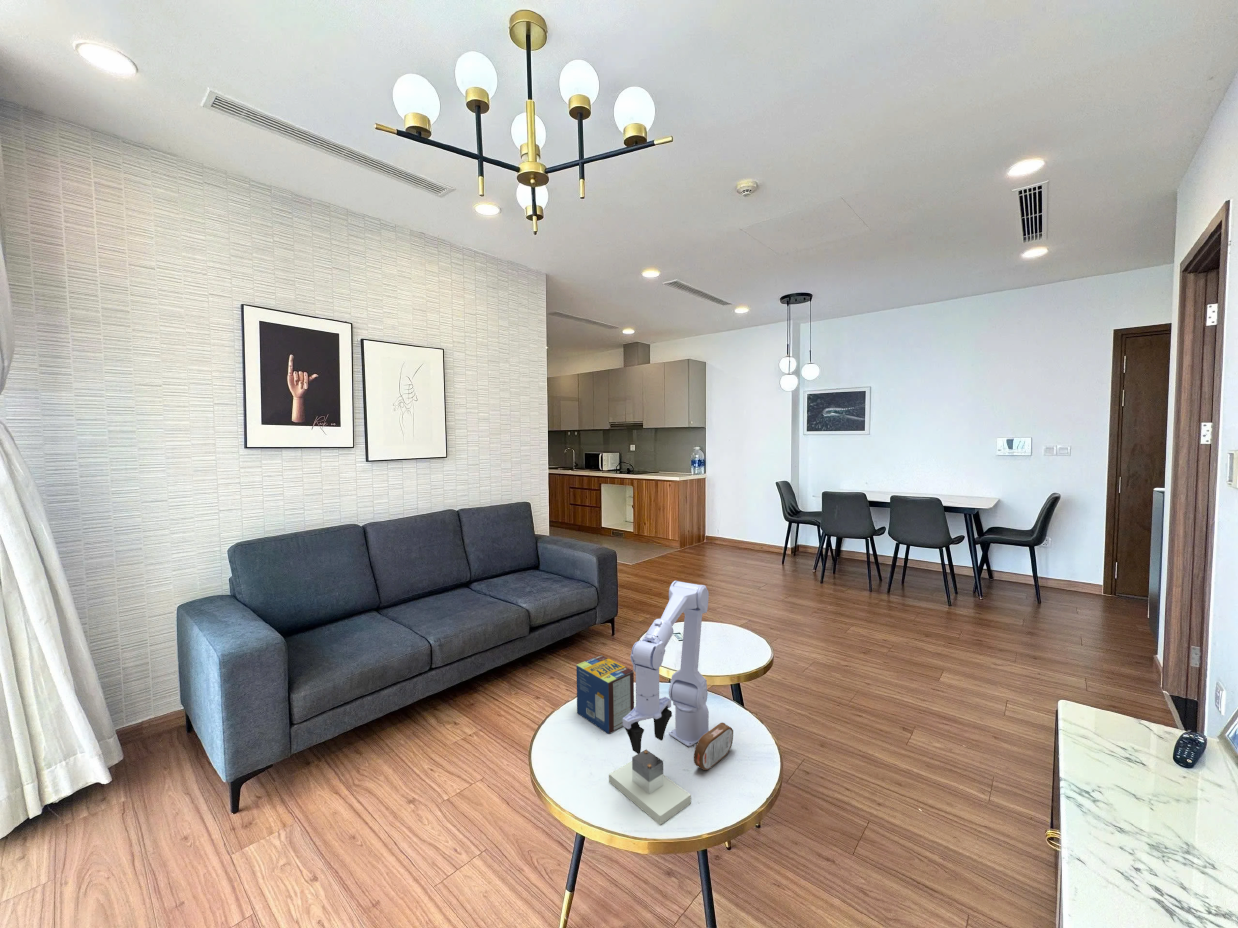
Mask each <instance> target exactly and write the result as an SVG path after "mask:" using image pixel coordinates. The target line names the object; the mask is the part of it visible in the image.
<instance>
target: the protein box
mask: <svg viewBox="0 0 1238 928" xmlns="http://www.w3.org/2000/svg"><path fill="white" fill-rule="evenodd" d="M634 682H635V671H634V670H633V669H632V668H631V669H630V668H629V667H627V666H625V665H623V664H621V663H620V662H617V661H614V659H613V660H612V659H610V658H608V657H606V656H605V655H602V654H600V655H597V656H594V657H593V658H590V659H587V660H585V661H582V662H579V663H577V664H576V712H577V713H576V714H578V715H579V716H580V717H582V718H584V719H586V720H587V721H588V722H590V723H591V724H593V725H594V726H596V727H597V728H599V729H600V730H602V731H603V732H605V733H606V734H608V735H611V733H613V732H616V731H618V730H619V729H620V728H621V729H622V727H623V728H624V726H623V718H624V717H625V716H627V715H628V714H629V713H630V712H631V711H632V710H633V709H634V708H635V683H634Z"/></svg>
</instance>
